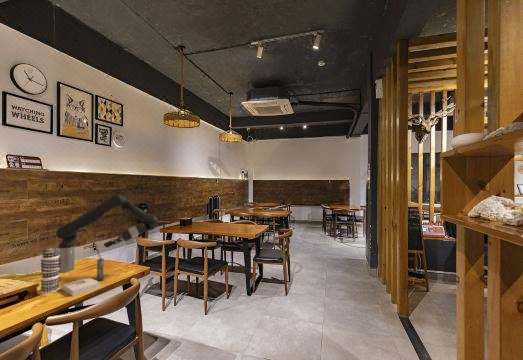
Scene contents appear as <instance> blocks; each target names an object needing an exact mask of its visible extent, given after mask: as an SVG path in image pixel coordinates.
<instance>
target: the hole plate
mask: <svg viewBox="0 0 523 360" xmlns="http://www.w3.org/2000/svg"><path fill="white" fill-rule="evenodd" d="M99 288H101V281H100V282H98V281H97V279H93V278H91V277H90V276H89V277H88V276H87V277H85V278H80V279H77V280H74V281H70V282H67V283H66V282H65V283H63V284H62V285H61V290H63V291H65V293H67V294H68V295H70V296H72V297H74V296H78V295H80V294H83V293H87V292H90V291H93V290H96V289H99Z"/></svg>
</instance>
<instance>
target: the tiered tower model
mask: <svg viewBox="0 0 523 360" xmlns="http://www.w3.org/2000/svg"><path fill="white" fill-rule="evenodd" d="M41 253H42V258H41V259H40V268H41V269H40V270H41V274H42V277H41V281H40V282H41V283H40V284H41V286H40V291H41V294H45V295H46V294H51V293H55V292H58V291H59V290H60V287H61V285H60V284H61V283H60V280H61V277H60V272H59V270H60V268H59V267H60V265H59V264H61V263H60V262H59V261H61V259H60V258H61V257H60V255H59V247H48V248H45V249H44V250H43V251H42V252H41Z"/></svg>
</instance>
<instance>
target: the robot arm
mask: <svg viewBox="0 0 523 360" xmlns="http://www.w3.org/2000/svg"><path fill="white" fill-rule="evenodd" d="M115 208H120V209H122V210H124V211H127V212H128V213H129V214H131V216H133V218H135V219H137V220H139V221H140V222H141V223H138V224H136V225H133V226H131V227H129V228H126V229H125V230H122V231H120V235H116V237H112V238H111V239H110V240H108V241H107V242H105V243H103V246H104V247H105V248H109V247H111V246H113V245H117V244H119V243H120V242H121V243H122V241H124V242H128V241H130V240H132V239H133V238H135V237H137V236H139V235H141V234H143V233H145V232H148V231H152V230H154V229H156V228H157V226H158V224H159V223H158V218H157V216H155V215H154V214H151V213H147V212H145V210H143V209H141V208H139V207H137V206H136V205H134V204H133V203H132V202H131V201H130V200H128V199H127V198H126V196H123V195H121V194H114V195H112V196H110V197H109V198H108V199H106V200H104V201H103V202H102V203H100V204H98V205H97V206H95V207H93V208H91V209H90V210H88V211H87V212H85V213H82V215H80V216H78V217H77V218H76V219H74V220H72V221H71V222H69V223H67V224H64V225H62V226H60V227H59V228H58V229H57V230H56V232H55V236H56V237H57V238H59V239H62V240H61V242H60V243H59V244H58V249H59V255H60V257H61V258H60V259H61V261H59V262H60V263H61V264H59V265H60V267H59V268H60V270H59V273H67V272H71V271H74V270H75V253H76V251H75V249H76V245H75V244H76V242H77V234H78V233H77V231H78V230H81V229H83V228H85V227H88V226H91V225H92V224H94V223H96V222H97V221H99V220H101V219H102V218H103V217H104V215H105V214H106V213H107V212H108V211H110V210H112V209H115ZM143 222H146V223H143Z"/></svg>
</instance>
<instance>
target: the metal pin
mask: <svg viewBox="0 0 523 360" xmlns="http://www.w3.org/2000/svg"><path fill="white" fill-rule="evenodd" d="M96 260H97V261H96V262H97V263H96V281H98V282H100V283H101V282H102V281H104V258H97V259H96Z"/></svg>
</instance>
